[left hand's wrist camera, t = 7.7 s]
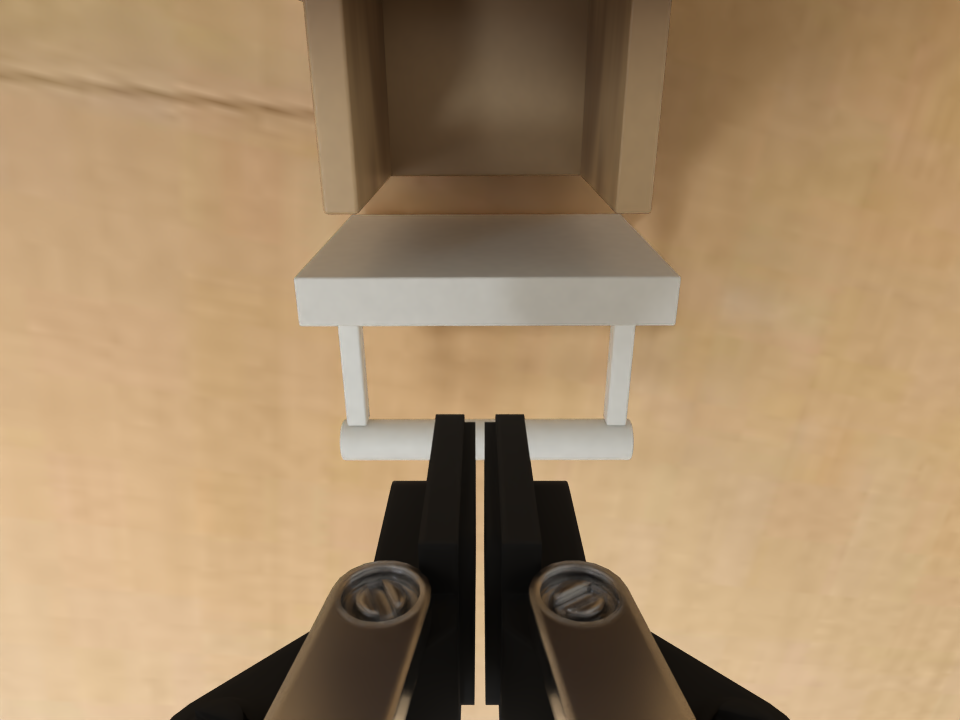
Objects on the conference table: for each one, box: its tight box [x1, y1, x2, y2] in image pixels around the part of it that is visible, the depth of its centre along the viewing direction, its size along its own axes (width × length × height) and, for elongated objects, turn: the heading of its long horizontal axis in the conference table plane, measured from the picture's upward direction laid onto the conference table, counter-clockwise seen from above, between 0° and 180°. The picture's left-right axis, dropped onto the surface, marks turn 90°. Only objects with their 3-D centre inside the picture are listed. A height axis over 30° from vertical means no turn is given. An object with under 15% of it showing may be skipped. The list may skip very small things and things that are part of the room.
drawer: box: [294, 0, 681, 460], centre depth 18 cm, size 17×9×7 cm, turn 0°
